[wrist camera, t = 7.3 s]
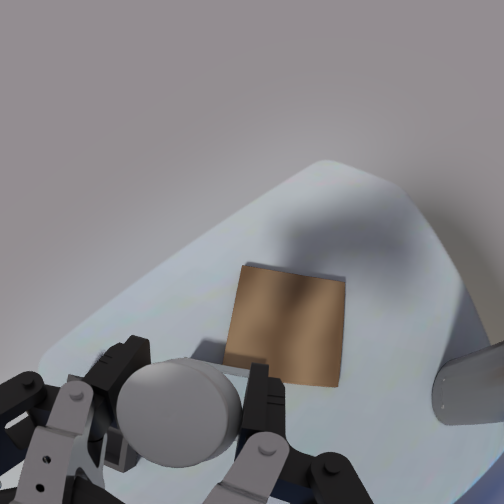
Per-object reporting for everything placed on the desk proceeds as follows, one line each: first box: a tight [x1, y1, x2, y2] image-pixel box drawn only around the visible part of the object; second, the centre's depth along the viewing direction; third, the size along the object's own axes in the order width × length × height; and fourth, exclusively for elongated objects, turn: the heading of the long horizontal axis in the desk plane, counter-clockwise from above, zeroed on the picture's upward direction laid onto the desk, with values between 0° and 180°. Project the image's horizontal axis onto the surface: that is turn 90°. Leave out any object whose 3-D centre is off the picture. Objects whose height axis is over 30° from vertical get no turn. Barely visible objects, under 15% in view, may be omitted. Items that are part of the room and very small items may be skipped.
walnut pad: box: [222, 265, 345, 387], centre depth 29 cm, size 12×12×1 cm
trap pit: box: [67, 374, 137, 473], centre depth 21 cm, size 8×8×4 cm
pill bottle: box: [116, 358, 242, 468], centre depth 10 cm, size 4×4×8 cm
